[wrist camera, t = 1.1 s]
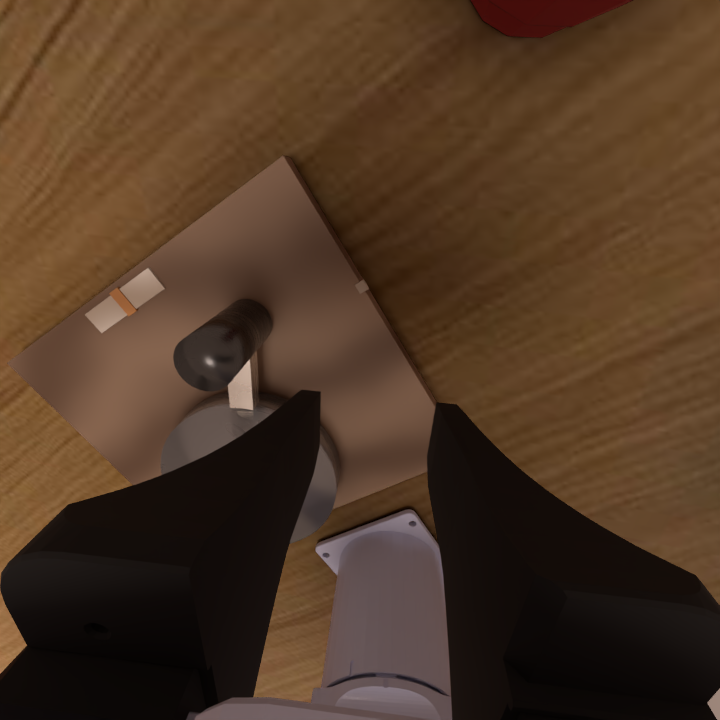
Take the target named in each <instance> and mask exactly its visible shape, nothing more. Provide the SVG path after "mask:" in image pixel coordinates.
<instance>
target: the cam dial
mask: <svg viewBox="0 0 720 720" xmlns="http://www.w3.org/2000/svg"><path fill="white" fill-rule="evenodd" d="M271 331H272V318H271V316H270V314H269V312H268V310H267V309H266V308H265V307H264V306H263V305H262V304H260V303H259V302H257V301H254V300H251V299H240V300H237V301H235V302H234V303H232V304H231V305H229V306H228V307H227V308H225V309H224V310H222V311H221V312H220V313H218V314H217V315H215V316H214V317H213V318H211V319H210V320H209V321H207V322H206V323H204V324H203V325H202V326H200V327H199V328H197V329H196V330H195V331H193V332H192V333H191V334H189V335H188V336H186V337H185V338H184V339H182V340H181V341H180V342H179V343H178V344H177V346H176V347H175V350H174V354H173V361H174V365H175V368H176V370H177V372H178V374H179V375H180V376H181V378H182V379H183V380H184V381H185V382H186V383H188V384H189V385H191V386H192V387H194V388H196V389H199V390H202V391H210V392H212V391H218V390H221V389H223V388H225V387H226V386H227V385H228V392H225V393H221V394H218V395H215V396H212V397H210V398H208V399H206V400H204V401H202V402H201V403H199V404H198V405H197V406H195V407H194V408H193V409H192V410H191V411H190V412H189V413H188V414H187V415H186V417H185V418H184V419H183V420H182V421H181V422H180V423H179V424H178V425H177V426H176V428H175V429H174V430H173V431H172V432H171V433H170V435H169V436H168V438H167V439H166V442H165V444H164V446H163V449H162V454H161V465H160V466H161V474H162V475H163V474H165V473H168V472H170V471H173V470H175V469H177V468H180V467H182V466H184V465H186V464H188V463H191V462H193V461H195V460H197V459H199V458H201V457H204V456H206V455H208V454H210V453H212V452H213V451H215V450H217V449H219V448H221V447H222V446H224V445H226V444H228V443H230V442H231V441H233V440H235V439H236V438H238V437H239V436H241V435H242V434H244V433H245V432H247V431H248V430H250V429H251V428H253V427H254V426H255V425H257V424H258V423H260V422H261V421H263V420H264V419H265V418H267V417H268V416H269V415H270V414H272V413H273V412H274V411H276V410H277V409H278V408H279V407H280V406H282V405H283V404H284V403H285V402H287V401H288V400H286V399H284V398H281V397H278V396H276V395H272V394H268V393H264V392H259V381H258V364H257V350H258V349H259V348H260V346H261V345H262V344H263V343H264V342H265V340H266V339H267V338H268V337H269V335H270V333H271ZM339 475H340V461H339V456H338V452H337V449H336V447H335V444H334V442H333V440H332V439H331V437H330V435H329V434H328V432H327V431H326V429H325V428H324V427H323V426H322V425H321V424H320V447H319V452H318V457H317V461H316V466H315V470H314V474H313V477H312V480H311V483H310V486H309V489H308V492H307V495H306V498H305V500H304V503H303V506H302V509H301V512H300V514H299V517H298V520H297V523H296V526H295V528H294V531H293V534H292V537H291V540H290V543H293V542H296V541H299V540H301V539H303V538H305V537H307V536H309V535H311V534H312V533H314V532H315V531H317V530H318V529H319V528H320V527H321V526H322V525H323V524H324V522H325V521H326V520H327V519H328V517H329V515H330V513H331V511H332V509H333V506H334V503H335V498H336V492H337V487H338V482H339Z"/></svg>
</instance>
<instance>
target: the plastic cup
mask: <svg viewBox="0 0 720 720" xmlns="http://www.w3.org/2000/svg"><path fill="white" fill-rule="evenodd" d="M631 1H633V0H471V2H472V4H473V5H474V7H475V9H476V10H477V12H478V13H479V15H480V17H481V18H482V20H483V21H484V22H486V23H488V24H489V25H491V26H492V27H494V28H496V29H497V30H499V31H500V32H502V33H504V34H505V35H507V36H518V37H538V38H542V37H544V36H547V35H549V34H551V33H554V32H556V31H559V30H561V29H563V28H566V27H572V26H575V25H577V24H579V23H582V22H584V21H587V20H589V19H591V18H594V17H596V16H599V15H601V14H603V13H606V12H608V11H610V10H613V9H615V8H618V7H620V6H622V5H624V4H626V3H628V2H631Z"/></svg>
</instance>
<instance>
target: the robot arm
mask: <svg viewBox="0 0 720 720" xmlns="http://www.w3.org/2000/svg"><path fill="white" fill-rule="evenodd" d="M320 412H321V391H311V390H300V391H299V392H298V393H296V394H295V395H294V396H293V397H291V398H290V399H289V400H288V401H287V402H285V403H284V404H283V405H282V406H280V407H279V408H278V409H277V410H276V411H274V412H273V413H272V414H270V415H269V416H268V417H267V418H265V419H264V420H263V421H261V422H260V423H258V424H257V425H255V426H254V427H253V428H251V429H250V430H248V431H247V432H245V433H244V434H242V435H241V436H239V437H238V438H236V439H235V440H233V441H231V442H230V443H228V444H226V445H224V446H222V447H221V448H219V449H217V450H215V451H213V452H212V453H210V454H208V455H206V456H204V457H201V458H199V459H197V460H195V461H193V462H191V463H188V464H186V465H184V466H182V467H180V468H177V469H175V470H173V471H170V472H168V473H165V474H163V475H160V476H158V477H155V478H153V479H150V480H147V481H144V482H141V483H139V484H136V485H133V486H130V487H127V488H124V489H121V490H117V491H114V492H110V493H107V494H104V495H100V496H97V497H93V498H90V499H86V500H83V501H79V502H76V503H72V504H68V505H67V506H66V507H65V508H64V509H63V510H62V511H61V512H60V513H59V514H58V515H57V516H56V517H55V518H54V519H53V520H52V521H51V522H50V523H49V524H48V525H47V526H45V527H44V528H43V529H42V530H41V531H40V532H39V533H38V534H37V535H36V536H35V537H34V538H33V539H32V540H31V541H30V542H29V543H28V544H27V545H26V546H25V547H24V548H23V549H22V550H21V551H20V552H19V553H18V554H17V555H16V556H15V557H14V558H13V559H12V560H11V561H10V562H9V563H8V564H7V566H6V567H5V568H4V570H3V571H2V573H1V584H0V588H1V593H2V596H3V599H4V602H5V605H6V606H7V608H8V610H9V612H10V614H11V616H12V618H13V620H14V621H15V623H16V625H17V627H18V629H19V631H20V633H21V635H22V637H23V638H24V640H25V642H26V644H27V646H28V647H27V648H26V649H25V650H24V652H23V653H22V654H21V655H20V657H19V658H18V659H17V660H16V662H15V663H14V664H13V665H12V667H11V668H10V669H9V670H8V672H7V673H6V674H5V676H4V677H3V678H2V679H1V681H0V720H717V719H716V717H715V716H714V714H713V712H712V711H711V709H710V707H709V706H708V704H707V702H708V701H709V700H710V699H711V697H712V696H713V695H714V694H715V693H716V692H717V691H718V690H719V688H720V605H719V604H718V603H717V602H716V600H715V599H714V598H713V597H712V595H711V594H710V593H709V591H708V590H707V589H706V588H705V586H704V585H703V584H702V582H701V581H700V580H699V579H698V578H697V576H696V575H694V574H692V573H690V572H688V571H686V570H684V569H682V568H680V567H678V566H675V565H673V564H671V563H669V562H667V561H665V560H663V559H661V558H659V557H657V556H655V555H653V554H651V553H649V552H647V551H645V550H643V549H641V548H639V547H637V546H635V545H634V544H632V543H630V542H628V541H626V540H625V539H623V538H621V537H619V536H617V535H616V534H614V533H612V532H610V531H609V530H607V529H605V528H603V527H602V526H600V525H598V524H597V523H595V522H593V521H592V520H590V519H589V518H587V517H585V516H584V515H582V514H581V513H579V512H578V511H576V510H575V509H573V508H572V507H570V506H569V505H567V504H566V503H564V502H563V501H561V500H560V499H558V498H557V497H555V496H554V495H553V494H551V493H550V492H548V491H547V490H546V489H544V488H543V487H542V486H541V485H539V484H538V483H537V482H535V481H534V480H533V479H532V478H530V477H529V476H528V475H526V474H525V473H524V472H523V471H522V470H521V469H519V468H518V467H517V466H516V465H515V464H514V463H513V462H512V461H511V460H509V459H508V458H507V457H506V456H505V455H504V454H503V453H502V452H501V451H500V450H499V449H498V448H497V447H496V446H495V445H494V444H493V443H492V442H491V441H490V440H489V439H488V438H487V437H486V436H485V435H484V434H483V433H482V432H481V431H480V430H479V429H478V428H477V426H476V425H475V424H474V423H473V422H472V421H471V420H470V419H469V417H468V416H467V415H466V414H465V413H464V412H463V411H462V410H461V409H460V407H459V406H458V405H456V404H446V403H436V407H435V413H434V418H433V424H432V430H431V436H430V441H429V447H428V453H427V473H428V488H429V494H430V500H431V505H432V511H433V517H434V522H435V528H436V533H437V539H438V543H437V542H436V541H435V539H434V538H433V536H432V535H431V534H430V532H429V531H428V529H427V528H426V526H425V525H424V524H423V522H422V521H421V519H420V518H419V517H418V515H417V514H416V512H415V511H413V510H410V509H407V510H404V511H401V512H398V513H396V514H393V515H390V516H388V517H385V518H382V519H380V520H377V521H374V522H372V523H369V524H366V525H364V526H361V527H358V528H356V529H353V530H350V531H348V532H345V533H342V534H340V535H337V536H334V537H332V538H329V539H326V540H324V541H321V542H319V543H317V545H316V552H317V553H318V555H319V556H320V557H321V558H322V559H323V560H324V561H325V562H326V564H327V565H328V566H329V567H330V568H331V569H332V570H333V572H334V573H335V574H336V575H337V581H336V588H335V595H334V602H333V609H332V616H331V622H330V629H329V636H328V643H327V650H326V657H325V664H324V671H323V678H322V684H321V688H314V689H313V693H312V699H311V703H308V702H300V701H293V700H286V699H278V698H271V697H253V695H254V691H255V686H256V681H257V676H258V672H259V667H260V663H261V658H262V654H263V650H264V645H265V641H266V636H267V632H268V627H269V623H270V619H271V614H272V610H273V606H274V602H275V598H276V593H277V589H278V585H279V581H280V577H281V573H282V569H283V565H284V561H285V557H286V553H287V550H288V546H289V543H290V540H291V537H292V534H293V531H294V528H295V526H296V523H297V520H298V517H299V514H300V512H301V509H302V506H303V503H304V500H305V498H306V495H307V492H308V489H309V486H310V483H311V480H312V477H313V474H314V470H315V466H316V461H317V457H318V452H319V447H320ZM410 521H415V522H410ZM438 544H439V545H438Z"/></svg>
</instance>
